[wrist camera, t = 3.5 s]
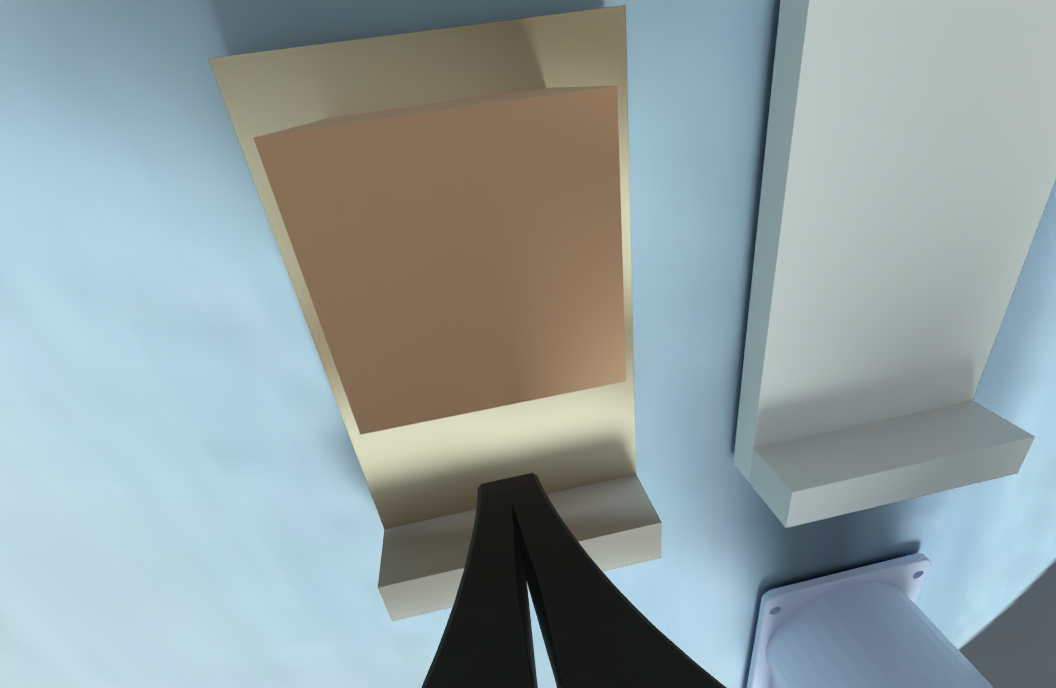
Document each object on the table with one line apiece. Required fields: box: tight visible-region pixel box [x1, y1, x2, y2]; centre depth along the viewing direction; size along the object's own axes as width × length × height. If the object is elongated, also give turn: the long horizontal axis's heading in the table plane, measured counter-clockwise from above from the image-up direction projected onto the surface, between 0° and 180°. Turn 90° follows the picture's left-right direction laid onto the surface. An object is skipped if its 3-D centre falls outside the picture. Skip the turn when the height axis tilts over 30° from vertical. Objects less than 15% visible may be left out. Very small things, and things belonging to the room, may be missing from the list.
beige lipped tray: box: [208, 5, 661, 621], centre depth 12 cm, size 14×8×3 cm, turn 7°
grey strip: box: [733, 0, 1056, 528], centre depth 13 cm, size 14×8×3 cm, turn 7°
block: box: [253, 86, 626, 435], centre depth 9 cm, size 4×4×4 cm
